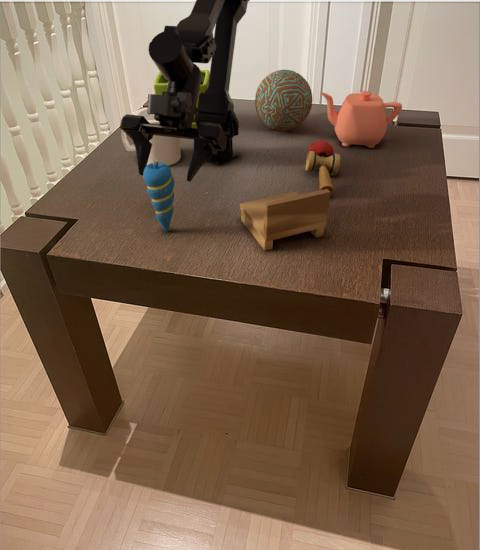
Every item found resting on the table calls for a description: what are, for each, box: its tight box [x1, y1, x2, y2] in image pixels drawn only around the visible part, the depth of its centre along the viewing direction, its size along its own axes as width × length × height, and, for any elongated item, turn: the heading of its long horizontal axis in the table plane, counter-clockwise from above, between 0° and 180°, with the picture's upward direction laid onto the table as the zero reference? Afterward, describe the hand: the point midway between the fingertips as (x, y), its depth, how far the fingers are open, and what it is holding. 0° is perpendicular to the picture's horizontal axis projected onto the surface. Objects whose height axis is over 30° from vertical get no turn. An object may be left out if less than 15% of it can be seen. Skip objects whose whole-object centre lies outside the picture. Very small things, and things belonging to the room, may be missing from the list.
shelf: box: [239, 189, 331, 252], centre depth 84 cm, size 12×12×10 cm
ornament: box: [142, 157, 175, 232], centre depth 82 cm, size 5×5×15 cm
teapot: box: [320, 90, 403, 149], centre depth 114 cm, size 13×20×12 cm, turn 81°
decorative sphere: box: [254, 69, 313, 132], centre depth 120 cm, size 15×15×15 cm
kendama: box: [305, 139, 341, 197], centre depth 101 cm, size 8×6×18 cm
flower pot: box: [153, 69, 210, 129], centre depth 124 cm, size 14×14×13 cm
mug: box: [120, 107, 182, 167], centre depth 108 cm, size 14×10×11 cm
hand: (164, 177), depth 82 cm, fingers open, 9 cm apart
